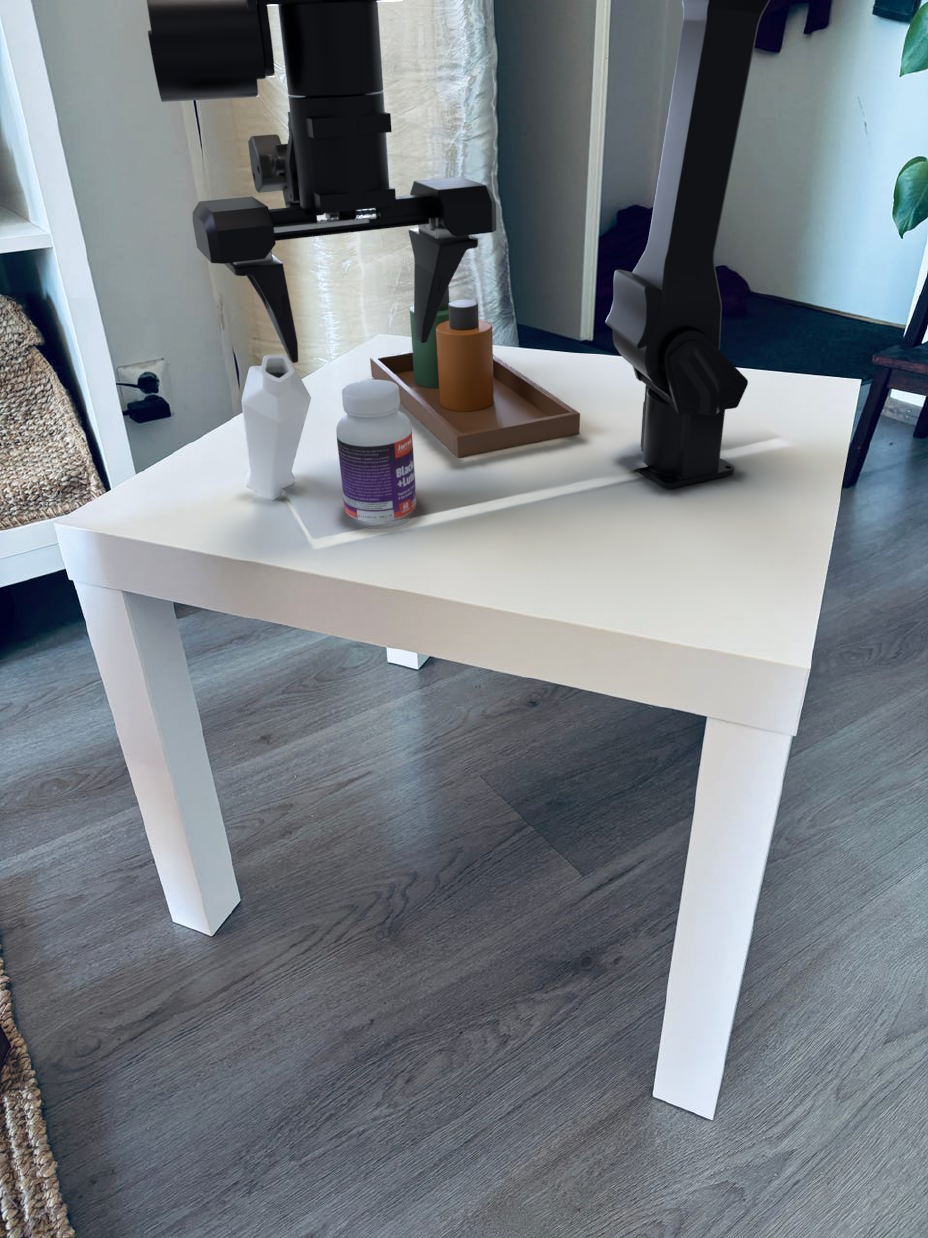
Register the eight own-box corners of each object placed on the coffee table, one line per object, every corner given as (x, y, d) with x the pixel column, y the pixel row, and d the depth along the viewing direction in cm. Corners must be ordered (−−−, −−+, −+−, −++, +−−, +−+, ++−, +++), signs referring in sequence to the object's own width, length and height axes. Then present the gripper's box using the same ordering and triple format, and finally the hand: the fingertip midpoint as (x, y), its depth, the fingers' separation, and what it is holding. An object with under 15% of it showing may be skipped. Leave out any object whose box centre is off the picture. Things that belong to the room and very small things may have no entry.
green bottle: (472, 383, 93) (469, 288, 89) (424, 391, 92) (418, 295, 87) (453, 368, 97) (449, 276, 92) (407, 376, 96) (400, 283, 91)
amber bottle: (502, 405, 88) (500, 305, 83) (452, 415, 86) (447, 314, 82) (481, 389, 92) (478, 292, 87) (432, 398, 90) (426, 300, 85)
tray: (579, 442, 82) (580, 412, 81) (458, 466, 79) (457, 436, 77) (474, 365, 100) (473, 340, 99) (372, 383, 97) (369, 357, 96)
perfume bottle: (310, 467, 76) (326, 357, 63) (283, 510, 75) (293, 406, 61) (258, 440, 76) (263, 324, 62) (230, 482, 75) (229, 372, 61)
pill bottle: (415, 529, 70) (405, 400, 64) (341, 531, 70) (325, 403, 65) (419, 497, 74) (411, 374, 69) (350, 499, 74) (336, 376, 69)
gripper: (432, 78, 67) (441, 306, 75) (159, 95, 61) (202, 340, 69) (498, 86, 58) (501, 343, 67) (187, 107, 52) (232, 385, 61)
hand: (359, 351), depth 66 cm, fingers open, 9 cm apart
